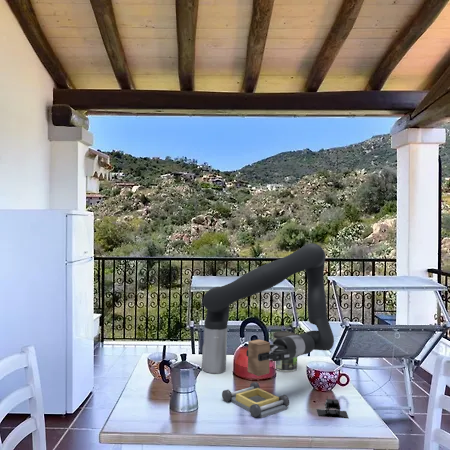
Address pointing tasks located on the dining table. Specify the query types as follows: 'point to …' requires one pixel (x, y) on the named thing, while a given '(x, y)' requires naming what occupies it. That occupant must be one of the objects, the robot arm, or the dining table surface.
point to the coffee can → (291, 363)
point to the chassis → (257, 400)
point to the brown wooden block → (253, 351)
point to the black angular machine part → (332, 413)
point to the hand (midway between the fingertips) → (253, 355)
